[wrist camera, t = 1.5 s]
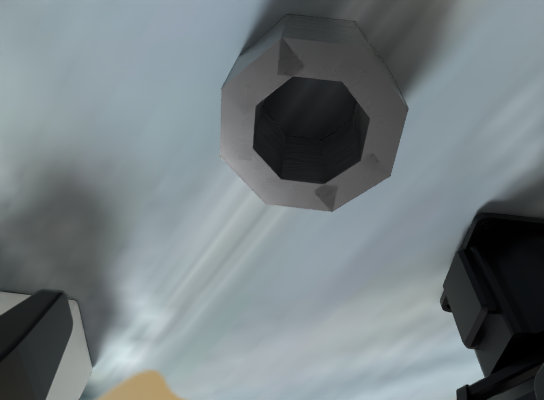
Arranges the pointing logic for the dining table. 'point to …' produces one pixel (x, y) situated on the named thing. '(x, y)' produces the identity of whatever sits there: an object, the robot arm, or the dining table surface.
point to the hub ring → (304, 151)
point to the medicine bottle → (75, 357)
